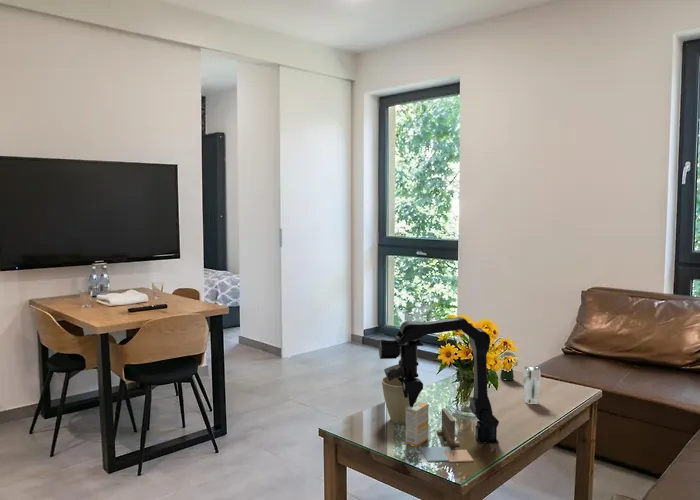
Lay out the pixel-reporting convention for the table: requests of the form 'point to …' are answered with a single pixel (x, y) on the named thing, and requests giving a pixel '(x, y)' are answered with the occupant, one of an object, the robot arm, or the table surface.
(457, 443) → the walnut screen
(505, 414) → the table surface
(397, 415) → the plant pot
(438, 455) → the slate-blue mat
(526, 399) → the beer glass
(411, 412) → the supplement box
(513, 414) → the table surface
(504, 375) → the character mug
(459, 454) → the terracotta mat
